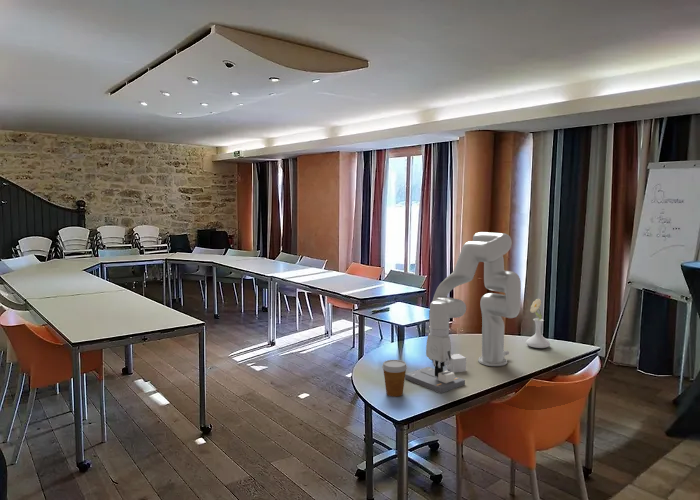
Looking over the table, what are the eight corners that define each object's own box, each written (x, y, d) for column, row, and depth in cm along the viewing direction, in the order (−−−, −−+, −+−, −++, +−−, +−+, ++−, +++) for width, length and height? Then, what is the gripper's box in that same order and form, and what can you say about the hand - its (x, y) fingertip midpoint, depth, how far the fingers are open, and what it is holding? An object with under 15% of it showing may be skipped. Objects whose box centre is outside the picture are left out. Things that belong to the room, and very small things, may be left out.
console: (428, 371, 218) (428, 366, 218) (464, 384, 202) (464, 379, 202) (404, 378, 209) (404, 373, 209) (440, 393, 194) (440, 387, 193)
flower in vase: (525, 342, 258) (527, 294, 256) (549, 344, 254) (551, 295, 252) (525, 349, 246) (526, 299, 243) (550, 352, 242) (552, 301, 239)
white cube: (465, 371, 218) (466, 357, 217) (453, 372, 216) (453, 359, 215) (458, 366, 223) (459, 353, 223) (446, 368, 222) (446, 354, 221)
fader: (446, 377, 203) (446, 369, 203) (454, 380, 200) (454, 372, 200) (438, 380, 200) (438, 372, 200) (445, 383, 197) (446, 374, 197)
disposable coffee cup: (380, 389, 198) (380, 359, 197) (404, 388, 199) (404, 358, 198) (384, 399, 189) (384, 368, 188) (409, 397, 190) (409, 367, 188)
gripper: (419, 329, 205) (419, 373, 207) (446, 337, 193) (446, 383, 195) (432, 326, 210) (431, 369, 212) (459, 334, 198) (459, 379, 200)
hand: (438, 375), depth 203 cm, fingers closed
